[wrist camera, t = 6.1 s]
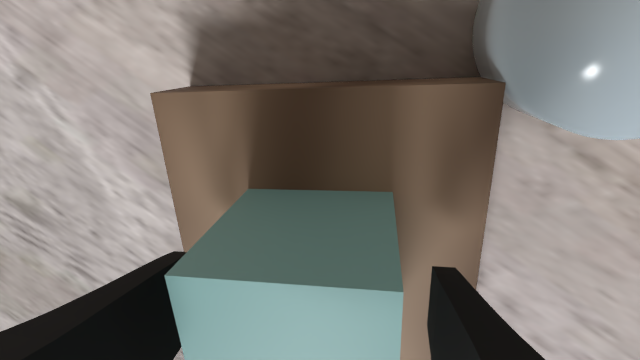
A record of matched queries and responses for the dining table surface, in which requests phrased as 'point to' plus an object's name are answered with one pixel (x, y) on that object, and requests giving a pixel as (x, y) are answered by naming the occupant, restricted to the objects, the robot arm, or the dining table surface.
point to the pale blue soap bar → (565, 61)
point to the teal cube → (293, 279)
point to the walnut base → (346, 162)
